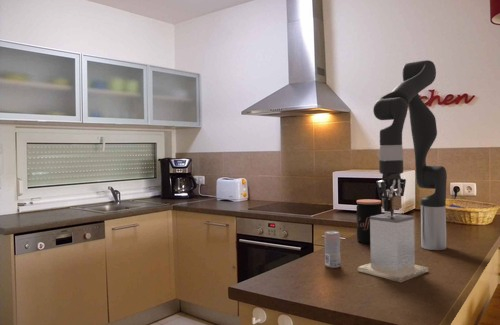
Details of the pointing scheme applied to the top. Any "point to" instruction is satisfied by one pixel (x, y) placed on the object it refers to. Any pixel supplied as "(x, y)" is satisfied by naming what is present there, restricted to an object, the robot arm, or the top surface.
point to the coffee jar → (366, 217)
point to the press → (392, 248)
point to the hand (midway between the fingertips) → (391, 210)
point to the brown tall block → (394, 204)
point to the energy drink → (332, 249)
